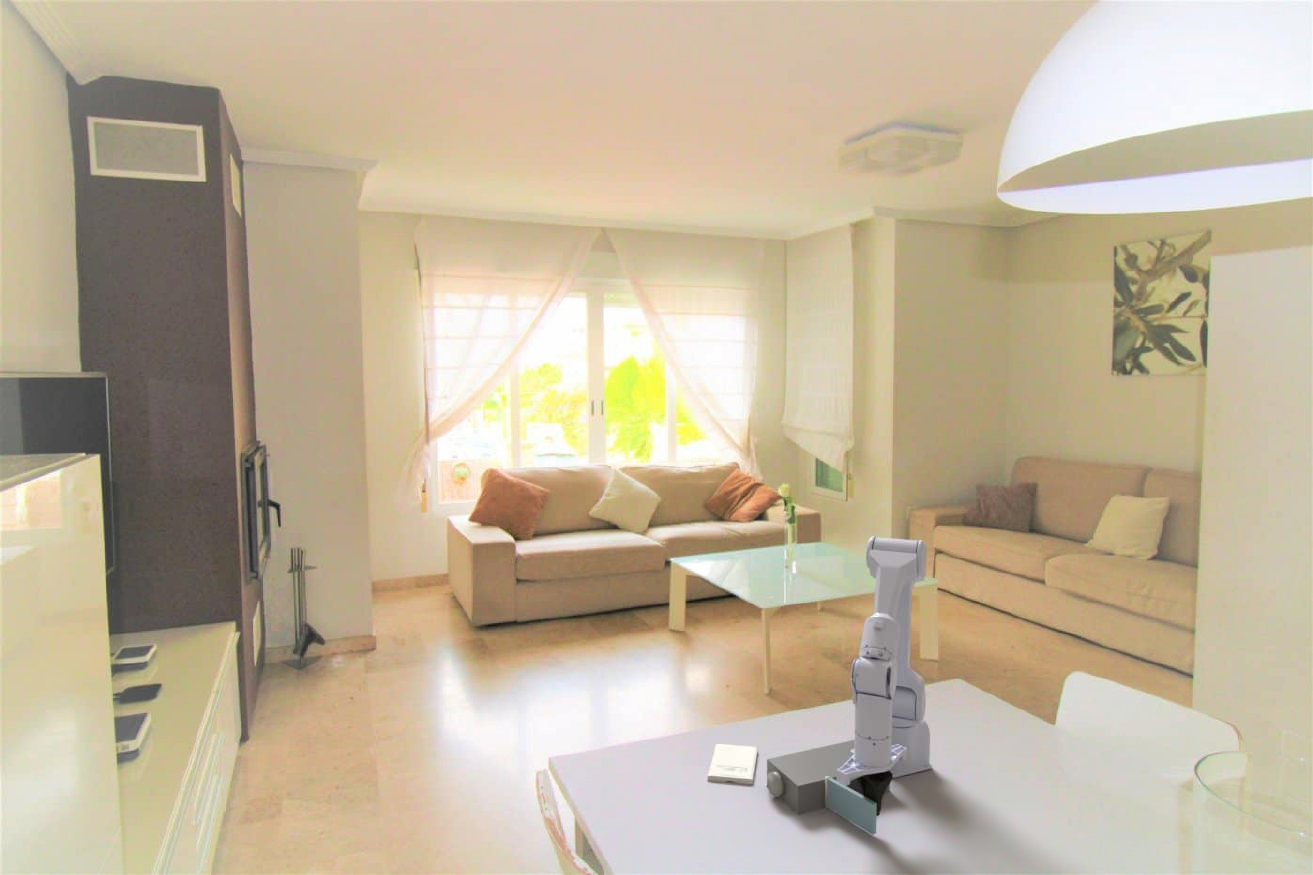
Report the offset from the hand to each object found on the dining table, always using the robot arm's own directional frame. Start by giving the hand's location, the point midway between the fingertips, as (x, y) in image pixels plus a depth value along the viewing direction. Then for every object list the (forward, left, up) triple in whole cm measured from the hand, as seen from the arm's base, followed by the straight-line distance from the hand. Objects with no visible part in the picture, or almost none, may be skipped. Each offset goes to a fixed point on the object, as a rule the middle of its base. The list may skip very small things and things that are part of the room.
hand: (871, 813), depth 128 cm
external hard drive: (+10, -27, -4) cm, 30 cm away
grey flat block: (-1, -13, -3) cm, 14 cm away
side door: (+2, -3, -2) cm, 4 cm away
